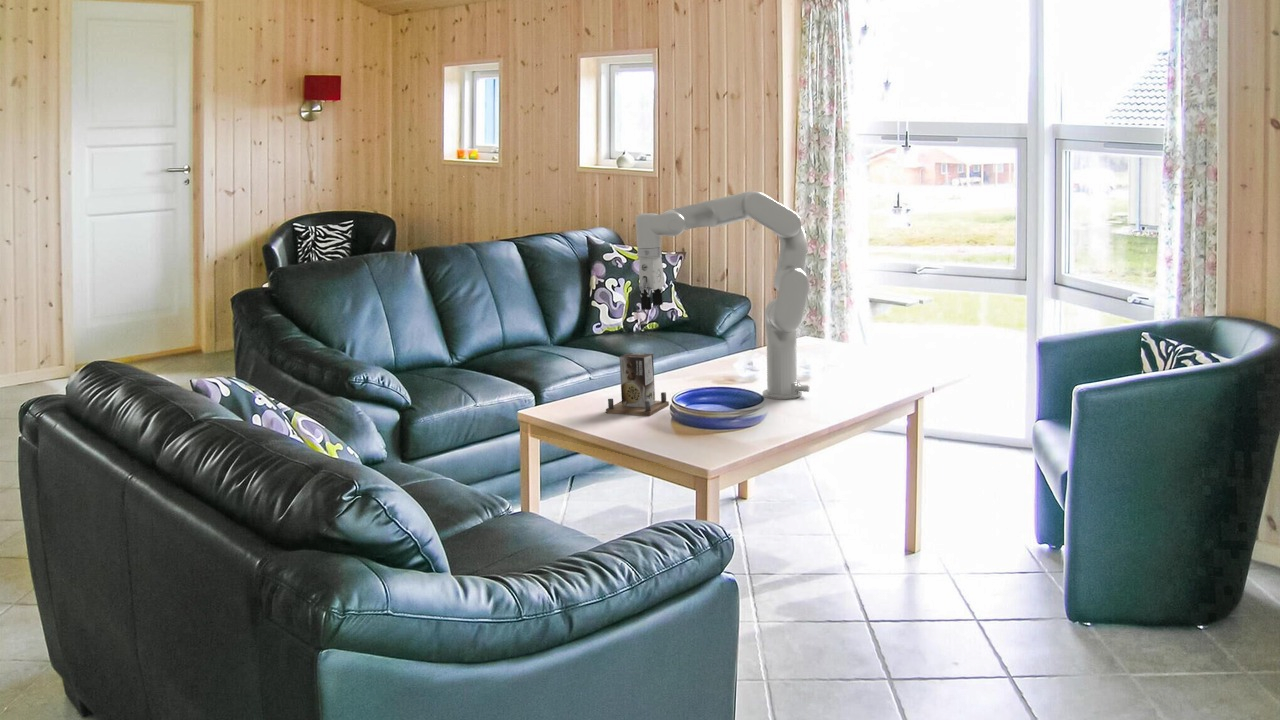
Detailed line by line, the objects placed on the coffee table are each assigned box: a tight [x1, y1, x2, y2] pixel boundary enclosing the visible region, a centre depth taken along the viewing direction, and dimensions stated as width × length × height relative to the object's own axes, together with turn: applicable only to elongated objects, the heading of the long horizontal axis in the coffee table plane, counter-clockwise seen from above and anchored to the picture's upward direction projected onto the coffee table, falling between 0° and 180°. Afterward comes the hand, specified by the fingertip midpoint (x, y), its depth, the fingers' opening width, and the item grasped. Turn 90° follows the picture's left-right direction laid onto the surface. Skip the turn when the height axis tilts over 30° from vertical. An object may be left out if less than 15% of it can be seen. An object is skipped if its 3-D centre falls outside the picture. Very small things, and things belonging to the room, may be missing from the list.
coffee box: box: [618, 352, 656, 408], centre depth 377 cm, size 9×6×16 cm
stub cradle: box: [605, 391, 670, 417], centre depth 379 cm, size 15×15×4 cm
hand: (652, 307), depth 381 cm, fingers open, 9 cm apart
